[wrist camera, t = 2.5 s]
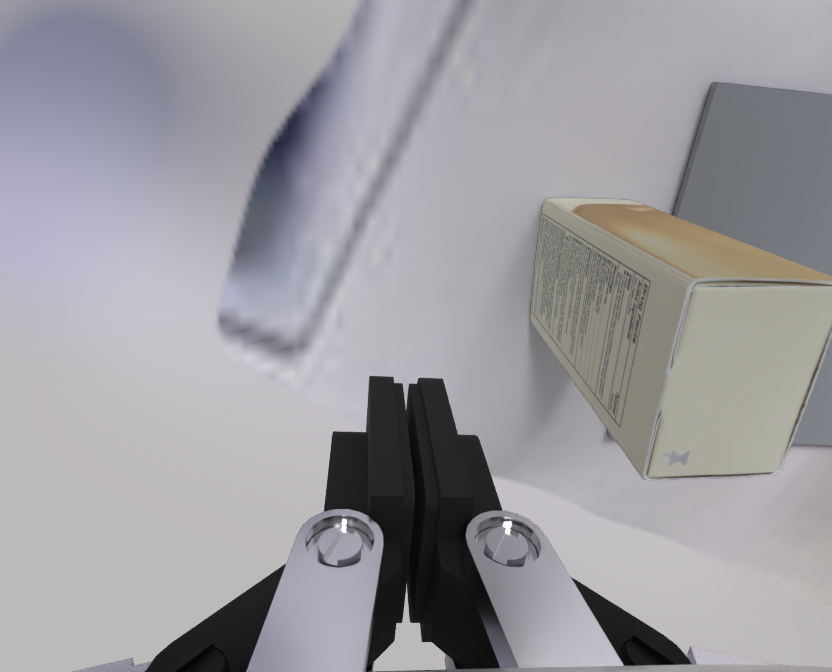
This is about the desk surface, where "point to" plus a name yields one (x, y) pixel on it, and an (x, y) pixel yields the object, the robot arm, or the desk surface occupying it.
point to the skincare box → (680, 336)
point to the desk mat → (768, 192)
